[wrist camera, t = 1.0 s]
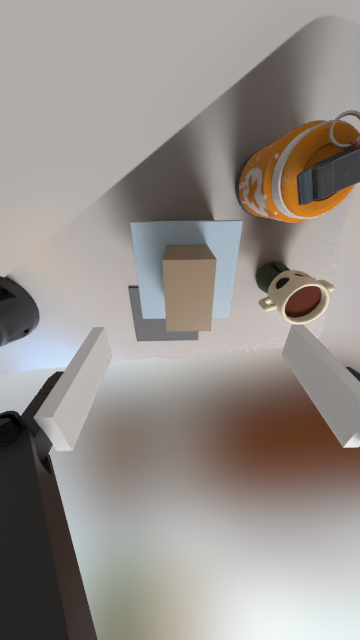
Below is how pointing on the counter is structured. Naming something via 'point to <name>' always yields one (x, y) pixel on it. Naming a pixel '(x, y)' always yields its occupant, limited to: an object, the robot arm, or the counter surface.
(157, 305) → the lid
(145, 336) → the mat
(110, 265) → the counter surface
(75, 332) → the counter surface
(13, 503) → the robot arm
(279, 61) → the counter surface
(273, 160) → the canister
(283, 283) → the character mug
